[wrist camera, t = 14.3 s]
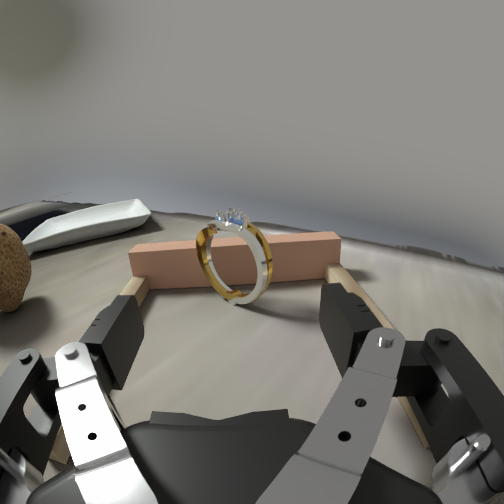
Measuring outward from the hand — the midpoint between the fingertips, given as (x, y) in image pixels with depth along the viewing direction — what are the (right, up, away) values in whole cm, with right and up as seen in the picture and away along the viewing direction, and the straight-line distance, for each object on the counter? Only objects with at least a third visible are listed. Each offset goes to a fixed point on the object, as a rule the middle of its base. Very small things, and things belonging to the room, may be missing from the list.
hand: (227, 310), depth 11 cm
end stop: (-1, 0, +17) cm, 17 cm away
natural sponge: (-26, -4, +10) cm, 28 cm away
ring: (0, -2, +12) cm, 13 cm away
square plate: (-35, +7, +43) cm, 56 cm away
